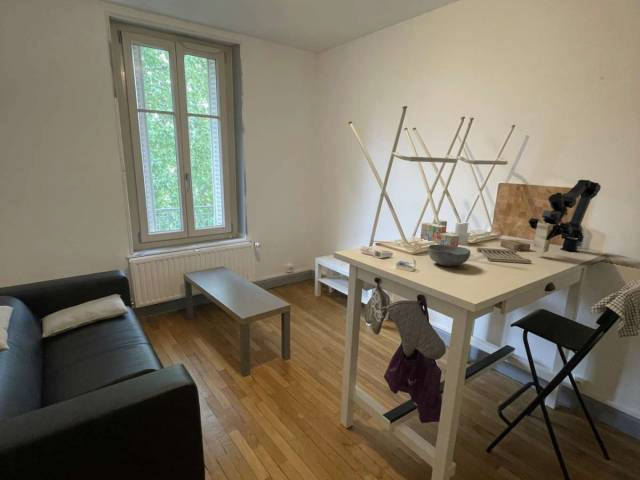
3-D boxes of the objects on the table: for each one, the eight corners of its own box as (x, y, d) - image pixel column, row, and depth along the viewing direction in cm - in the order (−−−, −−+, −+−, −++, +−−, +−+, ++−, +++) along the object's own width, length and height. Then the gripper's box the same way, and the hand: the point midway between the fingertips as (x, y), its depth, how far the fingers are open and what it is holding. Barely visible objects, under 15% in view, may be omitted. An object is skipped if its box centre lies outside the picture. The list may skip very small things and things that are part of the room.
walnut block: (515, 246, 194) (516, 240, 193) (529, 251, 184) (530, 244, 183) (500, 247, 192) (501, 240, 191) (513, 251, 182) (514, 244, 182)
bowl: (465, 261, 158) (467, 245, 157) (471, 273, 142) (474, 254, 140) (425, 257, 163) (427, 241, 161) (426, 268, 146) (428, 250, 145)
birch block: (537, 249, 174) (542, 222, 171) (548, 251, 170) (553, 224, 167) (532, 250, 172) (537, 223, 168) (542, 252, 168) (548, 225, 164)
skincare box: (445, 241, 198) (447, 221, 196) (439, 242, 197) (441, 221, 194) (437, 239, 204) (440, 219, 201) (432, 239, 203) (434, 219, 200)
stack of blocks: (457, 253, 174) (460, 229, 172) (448, 254, 172) (451, 230, 169) (427, 243, 193) (430, 222, 190) (419, 244, 190) (421, 222, 188)
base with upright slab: (463, 245, 191) (465, 224, 188) (448, 242, 197) (450, 222, 195) (470, 243, 196) (473, 223, 193) (456, 240, 203) (458, 220, 200)
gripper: (533, 202, 175) (518, 224, 172) (574, 207, 160) (558, 231, 157) (538, 216, 181) (524, 238, 178) (578, 222, 166) (563, 246, 163)
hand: (541, 238), depth 169 cm, fingers closed on birch block, 5 cm apart
